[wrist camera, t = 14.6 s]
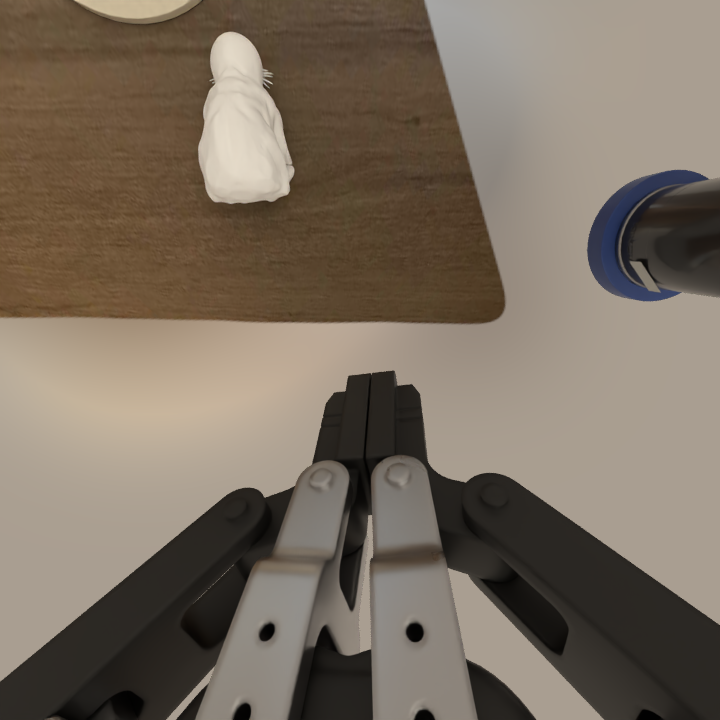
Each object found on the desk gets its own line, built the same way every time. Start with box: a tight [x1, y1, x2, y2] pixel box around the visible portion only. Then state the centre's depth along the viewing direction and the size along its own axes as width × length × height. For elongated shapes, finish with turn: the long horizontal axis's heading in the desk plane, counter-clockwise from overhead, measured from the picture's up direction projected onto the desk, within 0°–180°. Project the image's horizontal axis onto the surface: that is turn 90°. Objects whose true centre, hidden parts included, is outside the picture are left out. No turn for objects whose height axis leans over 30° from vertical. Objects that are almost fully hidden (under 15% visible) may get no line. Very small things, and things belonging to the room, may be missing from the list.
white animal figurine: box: [198, 32, 294, 204], centre depth 27 cm, size 6×8×12 cm
